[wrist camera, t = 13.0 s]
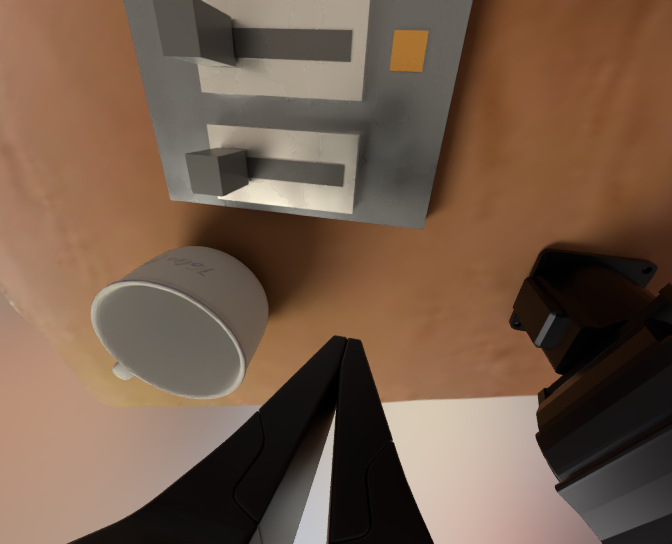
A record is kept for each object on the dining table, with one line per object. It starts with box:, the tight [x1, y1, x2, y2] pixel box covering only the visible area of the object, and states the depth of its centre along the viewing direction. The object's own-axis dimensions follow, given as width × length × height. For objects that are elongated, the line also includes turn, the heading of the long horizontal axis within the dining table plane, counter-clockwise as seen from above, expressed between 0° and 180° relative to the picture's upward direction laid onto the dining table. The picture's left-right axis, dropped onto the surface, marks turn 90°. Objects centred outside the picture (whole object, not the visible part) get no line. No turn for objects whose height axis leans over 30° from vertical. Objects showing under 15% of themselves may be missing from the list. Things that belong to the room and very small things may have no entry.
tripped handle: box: [153, 0, 235, 67], centre depth 13 cm, size 2×2×3 cm
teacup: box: [91, 246, 268, 399], centre depth 23 cm, size 14×11×8 cm
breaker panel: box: [123, 0, 473, 229], centre depth 15 cm, size 18×18×3 cm
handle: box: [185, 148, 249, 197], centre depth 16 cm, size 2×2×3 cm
